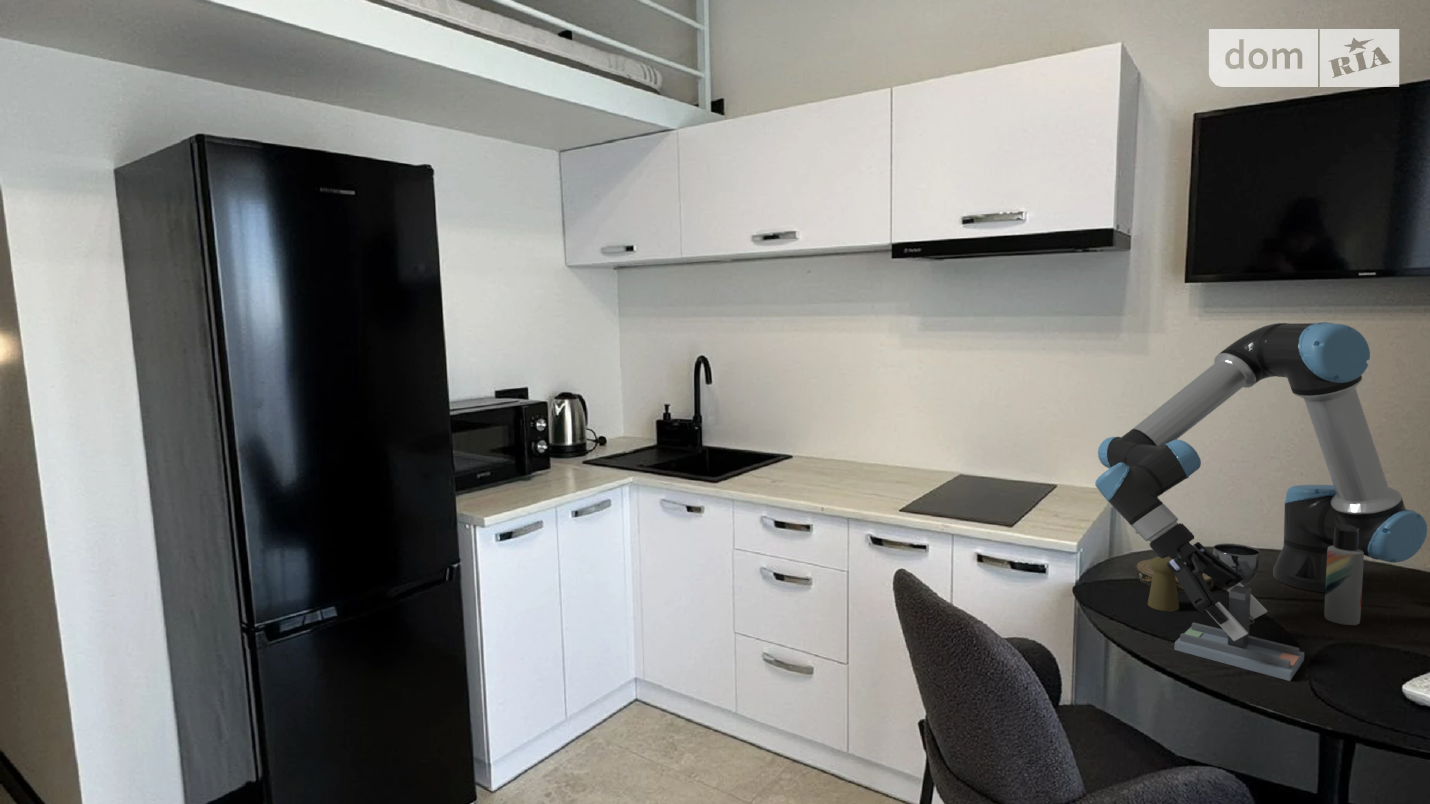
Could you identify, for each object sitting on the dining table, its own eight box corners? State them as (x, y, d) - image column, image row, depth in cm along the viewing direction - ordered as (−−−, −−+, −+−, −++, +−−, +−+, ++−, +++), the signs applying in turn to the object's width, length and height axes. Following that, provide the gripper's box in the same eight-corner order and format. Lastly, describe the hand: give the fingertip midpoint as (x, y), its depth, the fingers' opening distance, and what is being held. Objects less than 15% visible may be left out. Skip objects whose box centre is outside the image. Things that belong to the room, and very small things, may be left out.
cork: (1184, 612, 160) (1185, 562, 159) (1153, 610, 161) (1154, 562, 160) (1172, 601, 166) (1174, 554, 165) (1143, 600, 167) (1144, 553, 166)
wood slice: (1215, 597, 168) (1215, 584, 168) (1135, 586, 176) (1135, 574, 176) (1212, 575, 181) (1212, 563, 181) (1137, 566, 190) (1138, 555, 189)
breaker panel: (1174, 649, 143) (1174, 636, 142) (1192, 632, 150) (1193, 619, 150) (1290, 681, 129) (1290, 666, 129) (1303, 660, 137) (1304, 646, 136)
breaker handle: (1227, 647, 139) (1229, 591, 138) (1233, 640, 142) (1235, 585, 141) (1242, 651, 137) (1245, 594, 136) (1248, 644, 140) (1251, 588, 139)
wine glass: (1202, 612, 160) (1204, 544, 158) (1236, 609, 160) (1239, 542, 158) (1230, 627, 152) (1233, 556, 150) (1267, 624, 152) (1270, 553, 151)
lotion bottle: (1352, 616, 154) (1357, 523, 152) (1365, 627, 149) (1371, 530, 147) (1319, 613, 156) (1323, 521, 154) (1331, 624, 151) (1336, 529, 149)
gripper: (1169, 529, 157) (1251, 615, 148) (1125, 557, 141) (1213, 656, 132) (1199, 509, 153) (1285, 597, 143) (1156, 535, 137) (1250, 637, 127)
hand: (1251, 625), depth 137 cm, fingers open, 13 cm apart
